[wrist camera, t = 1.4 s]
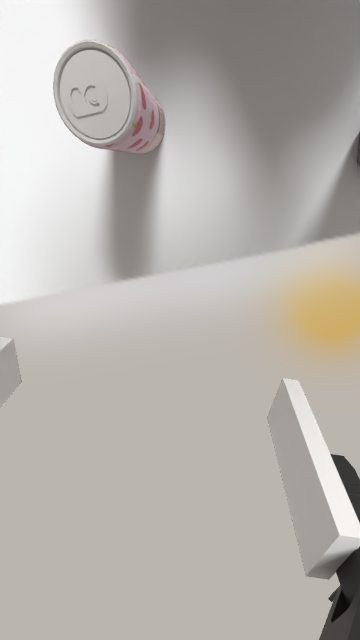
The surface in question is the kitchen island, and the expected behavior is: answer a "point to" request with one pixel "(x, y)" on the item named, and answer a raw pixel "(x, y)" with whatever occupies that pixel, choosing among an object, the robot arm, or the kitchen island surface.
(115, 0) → the kitchen island surface
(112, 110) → the beverage can
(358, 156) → the wine bottle
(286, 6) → the kitchen island surface
